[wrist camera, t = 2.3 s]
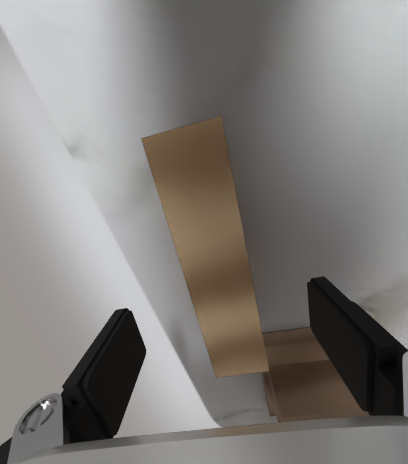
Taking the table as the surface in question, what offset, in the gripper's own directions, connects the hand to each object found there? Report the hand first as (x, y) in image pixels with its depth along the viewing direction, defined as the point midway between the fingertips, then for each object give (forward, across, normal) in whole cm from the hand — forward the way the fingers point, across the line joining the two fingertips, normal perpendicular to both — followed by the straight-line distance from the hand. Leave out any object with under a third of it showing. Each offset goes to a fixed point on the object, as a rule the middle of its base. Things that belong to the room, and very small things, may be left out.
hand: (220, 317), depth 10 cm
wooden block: (+7, 0, -1) cm, 7 cm away
